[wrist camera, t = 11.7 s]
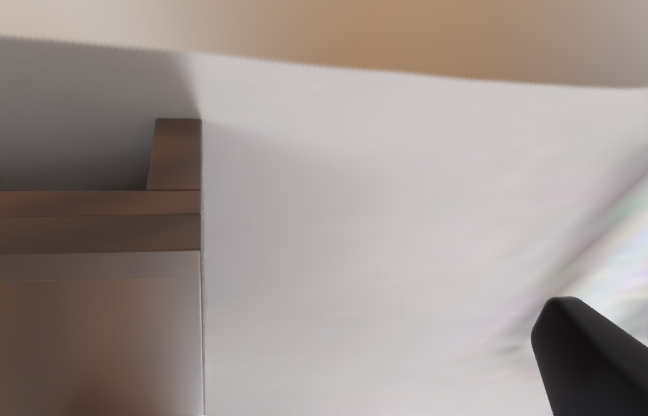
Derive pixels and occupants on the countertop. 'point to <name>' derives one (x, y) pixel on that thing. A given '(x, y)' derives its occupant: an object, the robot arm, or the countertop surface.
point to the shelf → (107, 292)
